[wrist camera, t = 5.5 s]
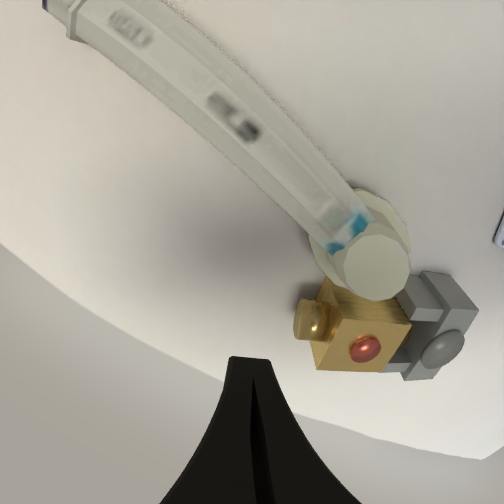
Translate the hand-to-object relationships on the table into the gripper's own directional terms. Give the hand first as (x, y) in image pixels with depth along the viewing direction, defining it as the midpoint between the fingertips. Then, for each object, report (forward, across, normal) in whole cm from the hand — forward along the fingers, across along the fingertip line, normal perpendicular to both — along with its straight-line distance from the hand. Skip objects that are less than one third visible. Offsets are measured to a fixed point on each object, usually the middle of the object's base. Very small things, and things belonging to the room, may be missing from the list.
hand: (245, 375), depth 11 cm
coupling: (+10, -14, +4) cm, 17 cm away
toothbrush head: (+10, +2, -8) cm, 13 cm away
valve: (+10, -8, +4) cm, 13 cm away
